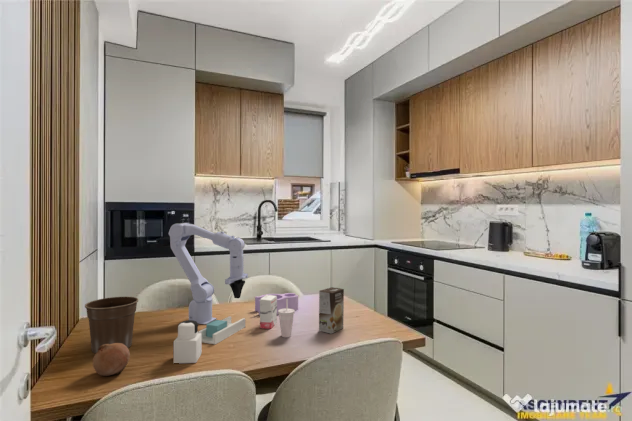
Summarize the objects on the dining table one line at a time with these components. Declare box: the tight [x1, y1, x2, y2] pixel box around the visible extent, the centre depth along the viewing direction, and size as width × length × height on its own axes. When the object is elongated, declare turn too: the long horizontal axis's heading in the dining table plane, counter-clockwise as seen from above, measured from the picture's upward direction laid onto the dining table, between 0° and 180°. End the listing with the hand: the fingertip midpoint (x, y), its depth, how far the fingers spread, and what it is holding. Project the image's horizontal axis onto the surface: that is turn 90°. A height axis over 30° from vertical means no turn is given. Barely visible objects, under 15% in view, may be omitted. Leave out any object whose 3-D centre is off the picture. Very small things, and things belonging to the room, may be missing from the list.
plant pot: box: [84, 296, 139, 354], centre depth 122 cm, size 16×16×16 cm
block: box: [205, 319, 227, 337], centre depth 132 cm, size 6×5×4 cm
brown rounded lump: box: [92, 343, 131, 377], centre depth 103 cm, size 10×9×10 cm
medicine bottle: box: [172, 319, 203, 364], centre depth 113 cm, size 7×7×12 cm
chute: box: [198, 315, 246, 345], centre depth 136 cm, size 20×8×4 cm, turn 160°
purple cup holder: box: [254, 292, 299, 316], centre depth 167 cm, size 20×12×7 cm, turn 114°
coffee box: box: [318, 287, 345, 335], centre depth 141 cm, size 9×6×16 cm
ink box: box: [259, 294, 278, 330], centre depth 145 cm, size 9×5×12 cm, turn 168°
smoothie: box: [278, 299, 296, 338], centre depth 134 cm, size 6×6×14 cm
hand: (237, 297), depth 150 cm, fingers closed
